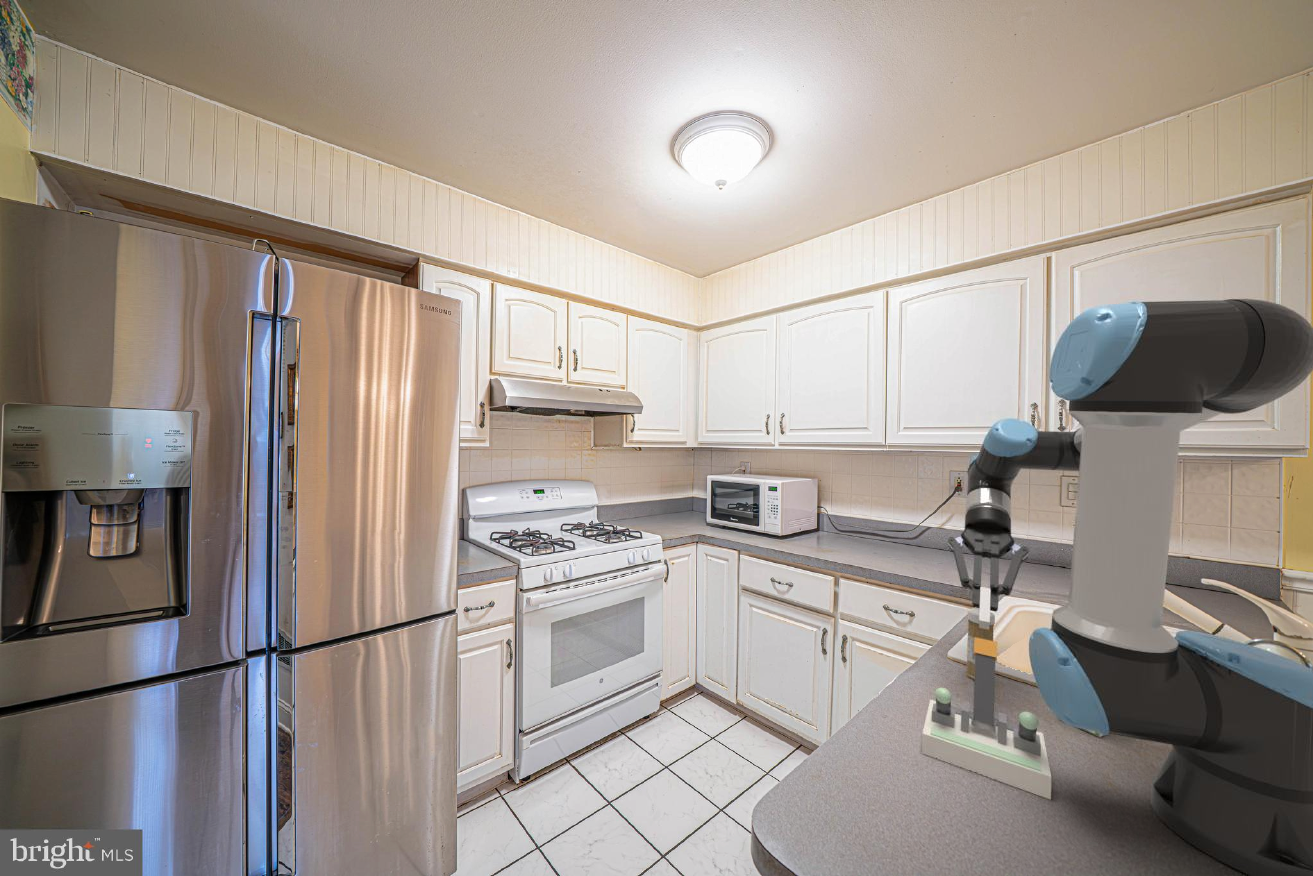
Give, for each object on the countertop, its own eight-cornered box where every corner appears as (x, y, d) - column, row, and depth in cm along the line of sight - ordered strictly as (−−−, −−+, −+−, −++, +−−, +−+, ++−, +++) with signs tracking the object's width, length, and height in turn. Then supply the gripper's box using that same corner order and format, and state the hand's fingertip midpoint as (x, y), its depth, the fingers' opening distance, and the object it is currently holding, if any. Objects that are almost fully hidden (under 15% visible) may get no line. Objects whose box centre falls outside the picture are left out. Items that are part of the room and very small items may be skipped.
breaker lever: (995, 733, 71) (996, 645, 77) (995, 731, 70) (997, 642, 75) (971, 726, 73) (974, 641, 79) (971, 724, 71) (974, 637, 77)
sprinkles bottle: (996, 680, 95) (999, 613, 95) (986, 686, 92) (989, 617, 92) (971, 670, 99) (973, 606, 99) (961, 675, 96) (963, 610, 96)
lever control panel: (1042, 752, 72) (1043, 693, 72) (1050, 799, 62) (1052, 731, 63) (929, 716, 81) (931, 664, 81) (921, 753, 71) (923, 693, 71)
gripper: (1027, 532, 93) (1030, 645, 80) (950, 523, 101) (940, 625, 87) (1030, 508, 89) (1034, 624, 75) (949, 501, 96) (939, 605, 83)
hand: (984, 624), depth 81 cm, fingers closed
